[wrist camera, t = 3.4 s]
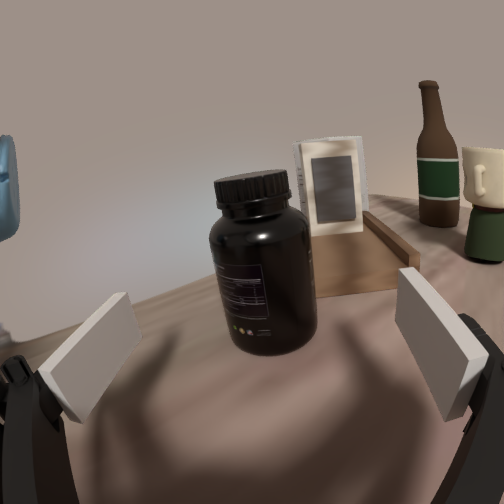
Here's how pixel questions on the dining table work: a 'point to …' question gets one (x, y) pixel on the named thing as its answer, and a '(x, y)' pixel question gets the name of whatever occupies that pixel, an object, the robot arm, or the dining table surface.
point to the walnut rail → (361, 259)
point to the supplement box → (360, 160)
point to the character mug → (484, 202)
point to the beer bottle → (437, 164)
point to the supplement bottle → (264, 264)
